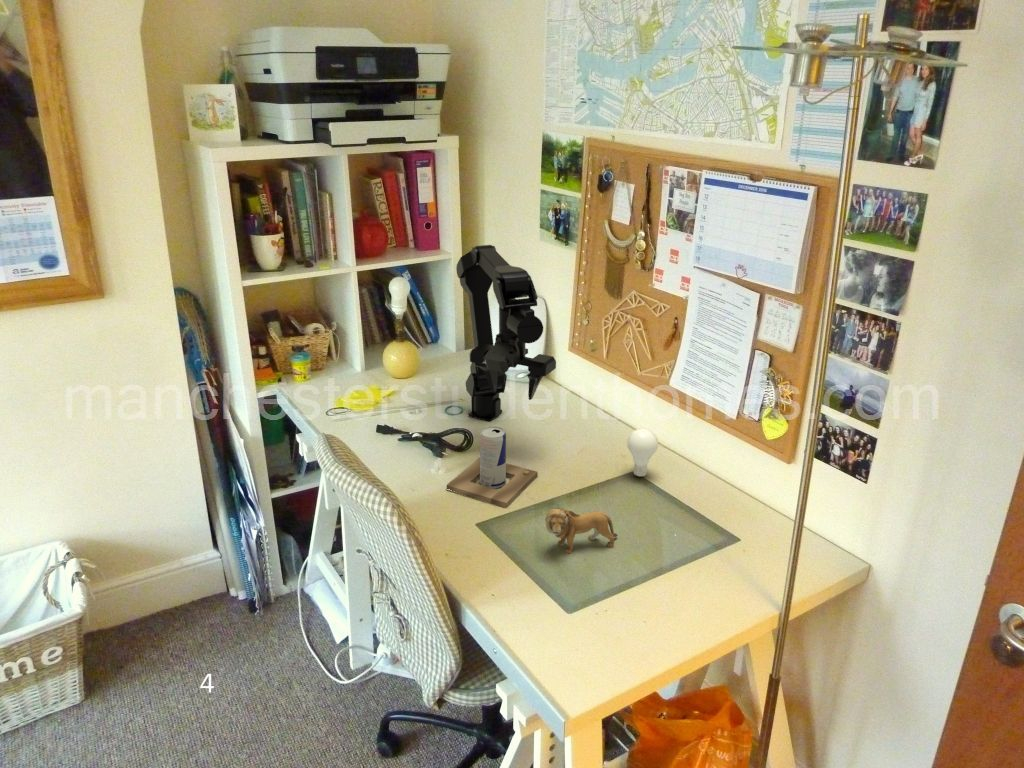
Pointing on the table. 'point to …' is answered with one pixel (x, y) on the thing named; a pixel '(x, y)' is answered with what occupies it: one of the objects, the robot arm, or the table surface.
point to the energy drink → (493, 457)
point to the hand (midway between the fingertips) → (512, 395)
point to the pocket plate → (497, 497)
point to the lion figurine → (578, 526)
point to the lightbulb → (642, 449)
